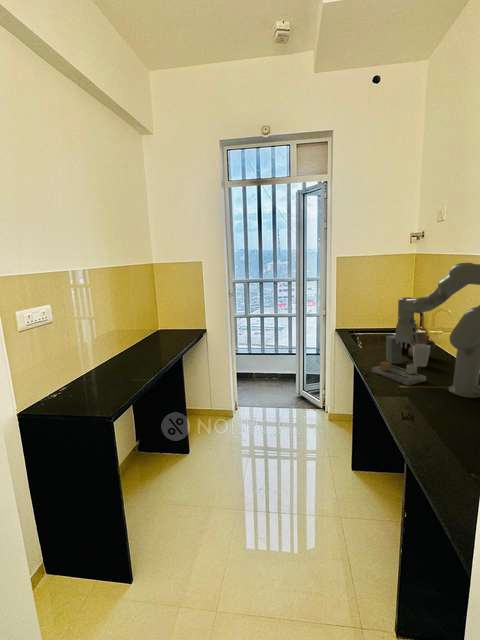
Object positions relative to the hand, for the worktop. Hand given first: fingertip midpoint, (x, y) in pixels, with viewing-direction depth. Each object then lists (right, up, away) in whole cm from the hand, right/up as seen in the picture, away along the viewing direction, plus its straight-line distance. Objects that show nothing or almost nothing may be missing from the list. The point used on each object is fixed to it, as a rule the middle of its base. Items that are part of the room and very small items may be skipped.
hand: (405, 355), depth 178 cm
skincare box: (+5, -7, +25) cm, 26 cm away
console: (-4, -11, 0) cm, 12 cm away
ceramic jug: (+25, -5, +34) cm, 42 cm away
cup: (+17, -8, +18) cm, 26 cm away
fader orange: (-9, -8, +3) cm, 13 cm away
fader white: (+2, -9, -3) cm, 9 cm away
